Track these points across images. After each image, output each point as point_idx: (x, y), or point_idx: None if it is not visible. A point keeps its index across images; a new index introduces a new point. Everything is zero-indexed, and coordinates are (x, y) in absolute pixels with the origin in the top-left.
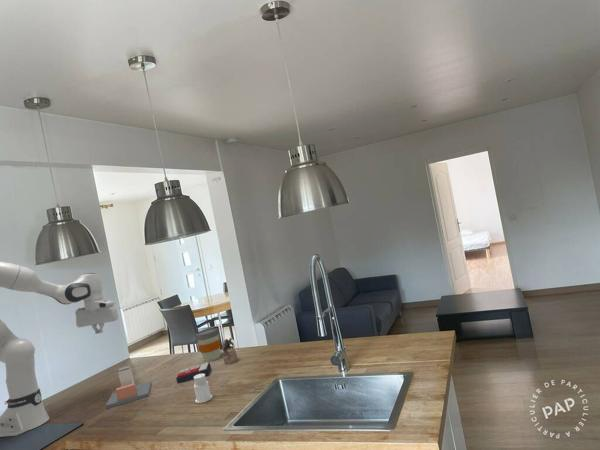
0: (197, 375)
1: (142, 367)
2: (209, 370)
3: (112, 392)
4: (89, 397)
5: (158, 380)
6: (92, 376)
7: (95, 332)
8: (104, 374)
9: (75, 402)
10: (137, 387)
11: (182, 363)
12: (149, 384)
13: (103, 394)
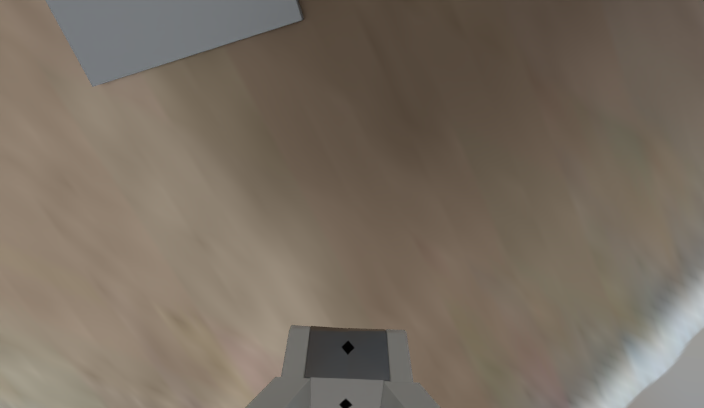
0: None
1: None
2: None
3: (299, 14)
4: (472, 74)
5: (89, 127)
6: (583, 393)
7: (402, 344)
8: (522, 388)
9: (542, 32)
10: (133, 10)
11: (90, 323)
12: (62, 22)
13: (389, 76)
